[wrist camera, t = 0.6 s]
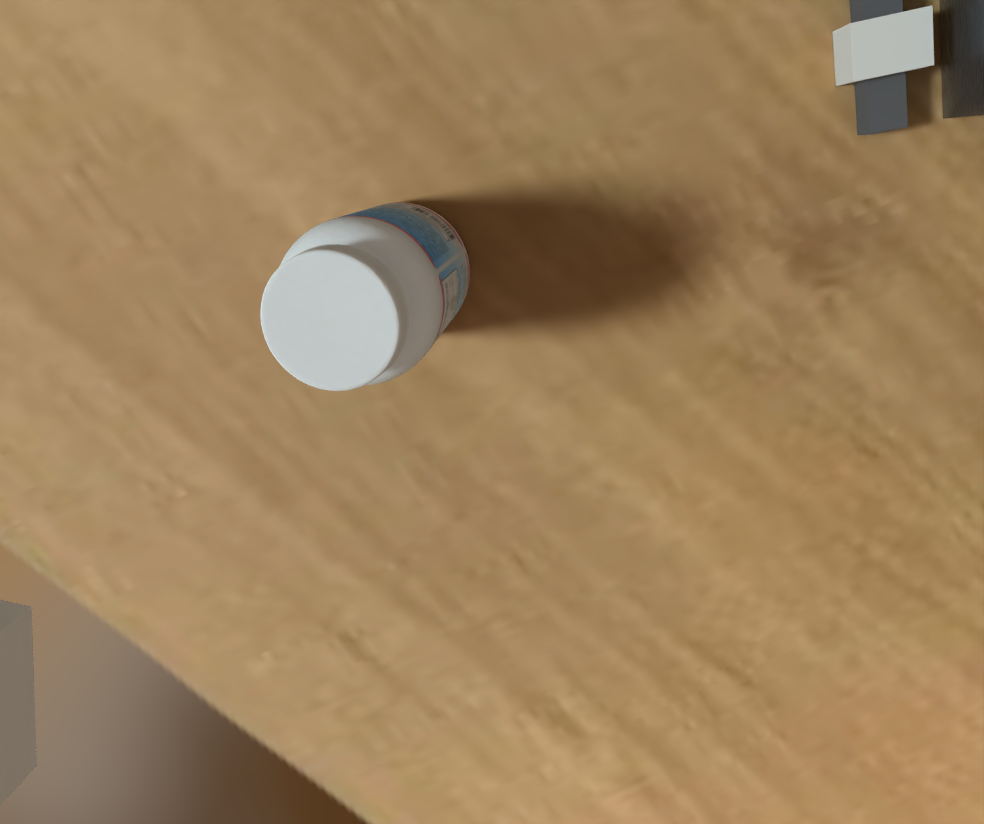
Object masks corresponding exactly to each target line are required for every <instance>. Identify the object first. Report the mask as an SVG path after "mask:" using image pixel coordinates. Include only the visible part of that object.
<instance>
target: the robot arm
mask: <svg viewBox="0 0 984 824" xmlns="http://www.w3.org/2000/svg"><path fill="white" fill-rule="evenodd" d="M36 766H37V758H36V729H35V698H34V666H33V636H32V607H31V606H26V605H22V604H17V603H12V602H8V601H3V600H0V806H1V804H2V803H3V802H4V801H5V800H6V799H7V798H8V797H9V796H10V795H11V793H12V792H13V791H14V790H15V789H16V788H17V787H18V786H19V785H20V783H21V782H22V781H23V780H24V779H25V778H26V777H27V776H28V775H29V774H30V772H31V771H32V770H33V769H34V768H35V767H36Z"/></svg>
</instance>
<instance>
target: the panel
mask: <svg viewBox="0 0 984 824" xmlns="http://www.w3.org/2000/svg"><path fill="white" fill-rule="evenodd" d="M940 28H941V63H942V98H943V118H954V117H965V116H976V115H984V0H940Z"/></svg>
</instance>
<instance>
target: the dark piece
mask: <svg viewBox="0 0 984 824" xmlns="http://www.w3.org/2000/svg"><path fill="white" fill-rule="evenodd" d="M850 12H851V23H850V24H848V25H846V26H843V27H841V28H839V29H837V30H835V31H833V48H834V63H835V79H836V86H840V85H845V84H850V83H854V82H855V98H856V115H857V132H858V135H869V134H874V133H879V132H885V131H890V130H895V129H900V128H905V127H908V119H907V94H906V72H908V71H912V70H916V69H920V68H924V67H928V66H932V65H934V41H933V9H932V6H927V7H922V8H918V9H913V10H909V11H904V12H903V0H850Z"/></svg>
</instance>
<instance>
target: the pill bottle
mask: <svg viewBox="0 0 984 824" xmlns="http://www.w3.org/2000/svg"><path fill="white" fill-rule="evenodd" d="M469 282H470V265H469V259H468V255H467V252H466V249H465V246H464V244H463V242H462V240H461V238H460V236H459V235H458V233H457V232H456V230H455V229H454V228H453V227H452V226H451V225H450V223H449V222H448V221H447V220H445V219H444V218H443V217H442V216H440V215H439V214H437V213H436V212H434V211H432V210H431V209H428V208H426V207H424V206H421V205H417V204H413V203H405V202H396V203H388V204H384V205H380V206H376V207H373V208H370V209H366V210H363V211H359V212H356V213H352V214H349V215H345V216H342V217H338V218H335V219H331V220H328V221H326V222H324V223H321V224H319V225H317V226H315V227H314V228H312V229H310V230H309V231H307V232H306V233H305V234H303V235H302V236H301V237H300V238H299V239H298V240H297V241H296V242H295V243H294V244H293V245H292V246H291V248H290V249H289V250H288V252H287V253H286V255H285V256H284V258H283V260H282V262H281V264H280V267H279V268H278V269H277V270H276V271H275V272H274V274H273V275H272V276H271V278H270V280H269V281H268V283H267V285H266V288H265V290H264V293H263V297H262V302H261V325H262V330H263V334H264V337H265V340H266V342H267V345H268V347H269V349H270V351H271V352H272V354H273V355H274V357H275V358H276V360H277V361H278V362H279V363H280V364H281V365H282V367H283V368H284V369H285V370H287V371H288V372H289V373H290V374H291V375H293V376H294V377H295V378H297V379H298V380H300V381H302V382H304V383H306V384H308V385H310V386H313V387H316V388H319V389H324V390H331V391H343V390H350V389H355V388H358V387H361V386H363V385H370V384H377V383H382V382H385V381H389V380H391V379H394V378H396V377H398V376H400V375H402V374H403V373H405V372H407V371H408V370H410V369H411V368H412V367H414V366H415V365H416V364H417V363H418V362H419V361H420V360H421V359H422V358H423V357H424V356H425V355H426V353H427V352H428V351H429V349H430V348H431V347H432V345H433V344H434V343H435V341H436V340H437V339H438V337H439V336H440V335H441V334H442V332H443V331H444V330H445V328H446V327H447V326H448V324H449V323H450V322H451V320H452V319H453V318H454V317H455V315H456V314H457V313H458V311H459V310H460V308H461V306H462V304H463V302H464V300H465V298H466V295H467V292H468V288H469Z"/></svg>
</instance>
